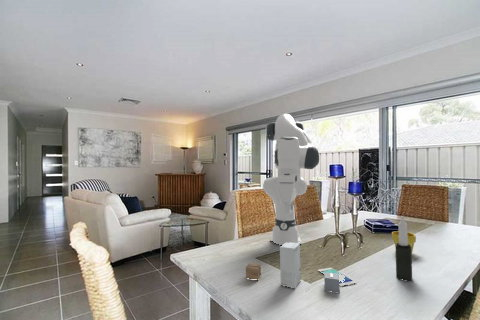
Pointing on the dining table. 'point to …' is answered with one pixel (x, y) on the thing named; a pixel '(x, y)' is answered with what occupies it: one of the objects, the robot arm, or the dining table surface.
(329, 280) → the slate block
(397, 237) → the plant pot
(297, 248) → the skincare box
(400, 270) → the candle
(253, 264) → the walnut block
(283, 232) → the robot arm
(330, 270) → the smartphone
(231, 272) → the dining table surface
